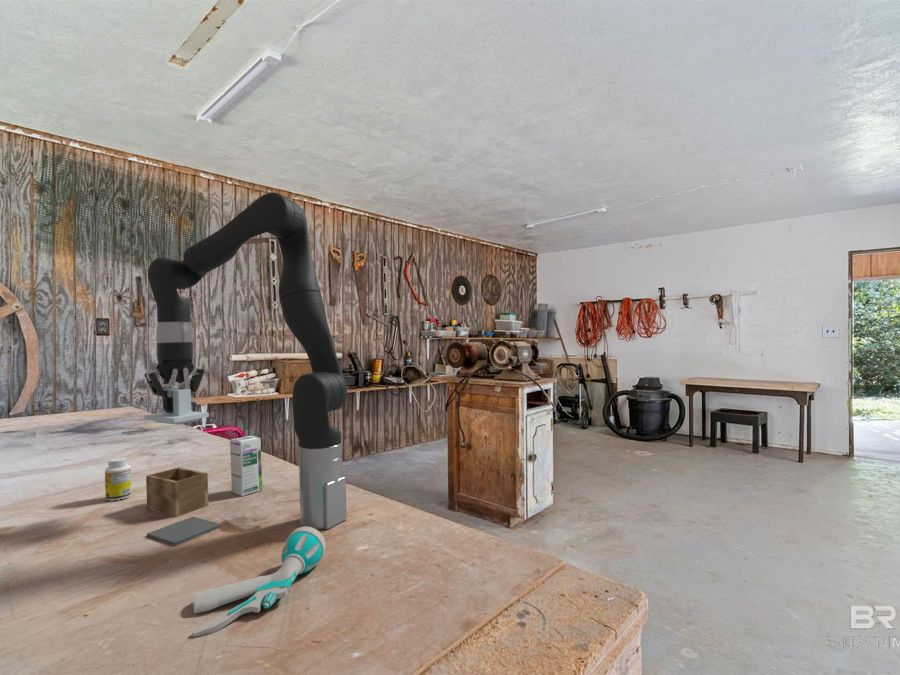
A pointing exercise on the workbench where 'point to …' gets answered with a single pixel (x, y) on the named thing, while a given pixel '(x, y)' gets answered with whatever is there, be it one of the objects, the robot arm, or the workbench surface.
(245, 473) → the syrup box
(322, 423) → the robot arm
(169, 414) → the lid
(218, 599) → the garden hose nozzle
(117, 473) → the supplement bottle
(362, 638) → the workbench surface
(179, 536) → the mat
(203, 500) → the crate
